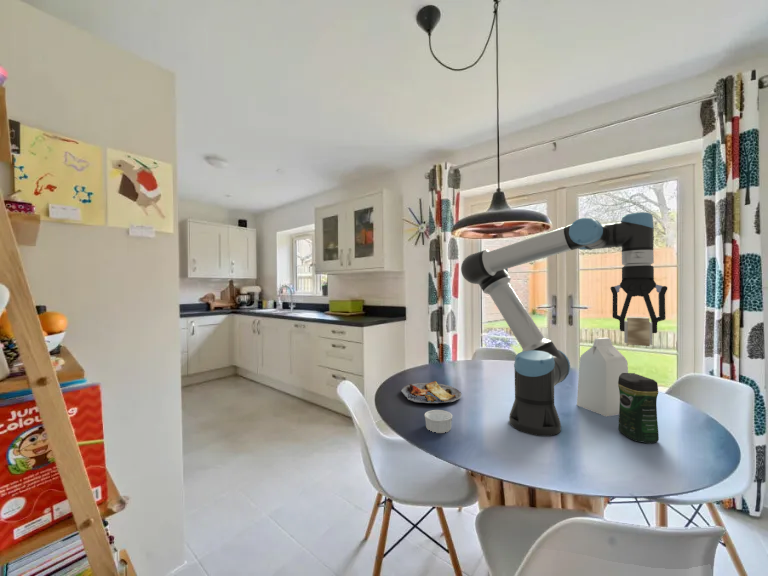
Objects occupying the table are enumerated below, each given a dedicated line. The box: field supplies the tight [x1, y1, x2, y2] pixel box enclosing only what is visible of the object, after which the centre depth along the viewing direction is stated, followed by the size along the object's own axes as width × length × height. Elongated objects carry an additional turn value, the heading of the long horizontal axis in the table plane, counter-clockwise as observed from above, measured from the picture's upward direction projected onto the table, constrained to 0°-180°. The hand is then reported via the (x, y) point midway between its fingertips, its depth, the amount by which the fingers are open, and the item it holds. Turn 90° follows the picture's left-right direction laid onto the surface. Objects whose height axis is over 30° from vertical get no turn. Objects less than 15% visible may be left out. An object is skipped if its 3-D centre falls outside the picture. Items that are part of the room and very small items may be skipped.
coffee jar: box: [617, 372, 660, 444], centre depth 97 cm, size 10×8×19 cm
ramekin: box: [424, 409, 453, 434], centre depth 104 cm, size 9×9×4 cm
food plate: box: [400, 380, 462, 404], centre depth 134 cm, size 25×23×4 cm
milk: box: [576, 337, 629, 417], centre depth 119 cm, size 12×12×26 cm
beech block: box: [626, 315, 651, 347], centre depth 96 cm, size 5×5×8 cm
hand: (637, 343), depth 96 cm, fingers closed on beech block, 5 cm apart
